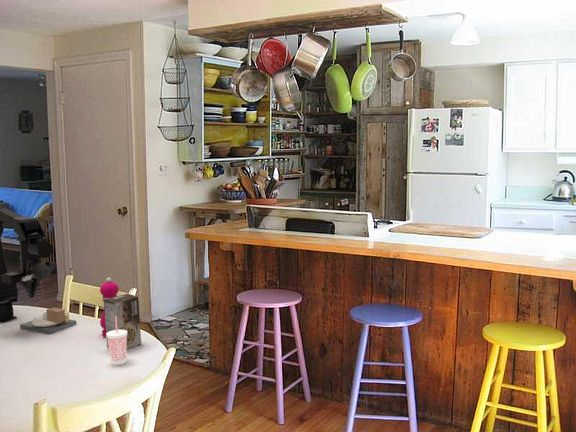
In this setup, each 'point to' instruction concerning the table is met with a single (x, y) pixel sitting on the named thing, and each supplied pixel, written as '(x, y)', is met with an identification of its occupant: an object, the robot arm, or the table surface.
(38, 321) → the flange
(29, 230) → the robot arm
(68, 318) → the gold rounded piece
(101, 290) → the pepper mill
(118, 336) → the beverage cup
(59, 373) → the table surface
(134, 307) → the coffee box
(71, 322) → the base plate
